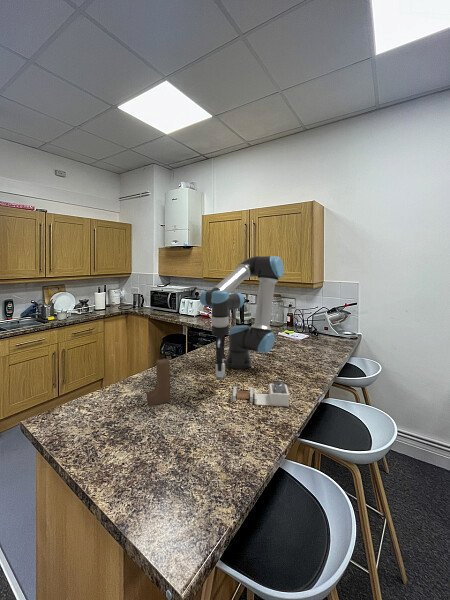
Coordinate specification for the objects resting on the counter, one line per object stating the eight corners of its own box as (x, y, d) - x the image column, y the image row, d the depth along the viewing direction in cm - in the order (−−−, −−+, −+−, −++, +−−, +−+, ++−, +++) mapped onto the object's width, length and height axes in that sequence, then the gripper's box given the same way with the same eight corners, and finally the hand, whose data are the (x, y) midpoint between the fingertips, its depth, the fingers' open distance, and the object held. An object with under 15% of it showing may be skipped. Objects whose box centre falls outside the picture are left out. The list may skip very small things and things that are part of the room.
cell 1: (216, 375, 132) (216, 359, 131) (225, 376, 132) (225, 359, 131) (215, 379, 128) (214, 362, 127) (224, 380, 128) (224, 363, 126)
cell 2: (273, 397, 123) (273, 379, 122) (283, 397, 123) (283, 380, 122) (273, 402, 119) (274, 384, 118) (284, 402, 118) (285, 384, 117)
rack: (254, 396, 127) (254, 382, 126) (285, 398, 126) (286, 384, 125) (254, 407, 117) (254, 392, 116) (288, 409, 116) (289, 394, 115)
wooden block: (149, 407, 116) (148, 365, 114) (146, 402, 120) (145, 361, 118) (170, 401, 121) (169, 361, 119) (166, 397, 125) (166, 358, 123)
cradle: (233, 394, 128) (233, 386, 128) (252, 395, 127) (252, 387, 127) (232, 404, 119) (232, 395, 119) (252, 405, 119) (253, 396, 118)
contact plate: (237, 395, 125) (237, 390, 125) (249, 396, 125) (249, 391, 124) (236, 399, 122) (236, 393, 122) (249, 399, 121) (249, 394, 121)
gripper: (214, 320, 135) (214, 367, 139) (209, 330, 118) (209, 382, 121) (230, 321, 134) (230, 367, 138) (226, 330, 117) (227, 383, 121)
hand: (220, 374), depth 130 cm, fingers closed on cell 1, 4 cm apart
